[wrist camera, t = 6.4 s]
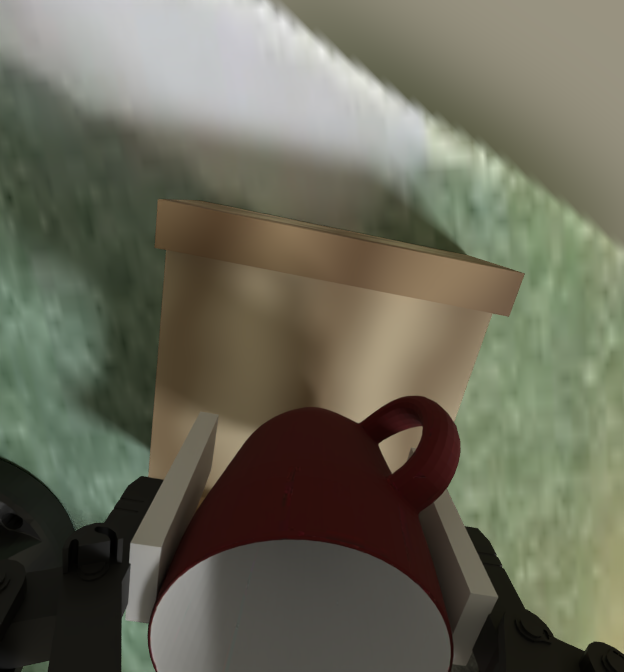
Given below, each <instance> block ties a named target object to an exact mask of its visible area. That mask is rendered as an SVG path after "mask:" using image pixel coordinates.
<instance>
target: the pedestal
mask: <svg viewBox="0 0 624 672" xmlns="http://www.w3.org/2000/svg"><path fill="white" fill-rule="evenodd" d="M155 248H159V249H164V250H166V258H165V271H164V284H163V296H162V309H161V322H160V335H159V347H158V360H157V373H156V386H155V398H154V411H153V424H152V437H151V449H150V462H149V475H148V477H150V478H157V479H163V480H164V479H165V477H166V475H167V473H168V471H169V469H170V468H171V466H172V464H173V462H174V460H175V458H176V456H177V454H178V453H179V451H180V449H181V447H182V445H183V443H184V441H185V439H186V438H187V436H188V434H189V432H190V430H191V428H192V426H193V424H194V422H195V421H196V419H197V417H198V415H199V413H200V411H201V412H207V413H212V414H218V415H219V417H218V425H217V432H216V439H215V447H214V454H213V461H212V468H211V472H210V474H209V477H208V480H207V482H206V485H205V488H204V490H203V493H202V496H201V499H200V501H199V504H198V507H197V509H198V508H199V506H200V505H201V503H202V502H203V500H204V499H205V497H206V496H207V494H208V493H209V492H210V490H211V489H212V487H213V486H214V485H215V483H216V482H217V480H218V479H219V478H220V476H221V475H222V473H223V472H224V471H225V469H226V468H227V466H228V465H229V464H230V462H231V461H232V459H233V458H234V457H235V455H236V454H237V452H238V451H239V450H240V448H241V447H242V445H243V444H244V443H245V441H246V440H247V439H248V438H249V437H250V435H251V434H252V433H253V432H254V431H255V430H257V429H258V428H259V427H260V426H261V425H262V424H264V423H265V422H267V421H268V420H270V419H272V418H273V417H275V416H277V415H279V414H282V413H284V412H287V411H290V410H294V409H298V408H303V407H319V408H324V409H327V410H330V411H333V412H336V413H338V414H340V415H342V416H345V417H347V418H349V419H351V420H353V421H355V422H357V423H360V422H362V421H363V420H364V419H366V418H367V417H368V416H370V415H371V414H372V413H374V412H375V411H376V410H378V409H379V408H381V407H382V406H384V405H386V404H387V403H389V402H391V401H393V400H395V399H398V398H400V397H405V396H424V397H426V398H428V399H430V400H433V401H435V402H437V403H438V404H439V405H440V406H441V407H442V408H443V409H444V410H445V411H446V412H447V413H448V414H449V415H450V417H451V418H452V420H453V422H454V421H455V418H456V415H457V412H458V409H459V407H460V404H461V401H462V398H463V395H464V392H465V390H466V387H467V384H468V381H469V378H470V375H471V373H472V370H473V367H474V364H475V361H476V359H477V356H478V353H479V350H480V347H481V344H482V342H483V339H484V336H485V333H486V330H487V327H488V325H489V322H490V319H491V316H492V313H493V314H498V315H503V316H508V317H509V315H510V313H511V310H512V307H513V304H514V302H515V299H516V296H517V294H518V291H519V288H520V285H521V283H522V280H523V277H524V275H525V273H521V272H518V271H515V270H512V269H509V268H506V267H503V266H500V265H497V264H493V263H490V262H487V261H484V260H481V259H478V258H475V257H472V256H469V255H464V254H459V253H454V252H449V251H444V250H440V249H435V248H430V247H425V246H420V245H415V244H410V243H405V242H400V241H396V240H391V239H386V238H381V237H376V236H371V235H366V234H361V233H356V232H352V231H347V230H342V229H337V228H332V227H327V226H322V225H317V224H312V223H307V222H303V221H298V220H293V219H288V218H283V217H278V216H273V215H268V214H263V213H259V212H254V211H249V210H244V209H239V208H234V207H229V206H224V205H219V204H215V203H210V202H205V201H200V200H171V199H158V206H157V220H156V235H155ZM422 429H423V427H422V426H419V427H414V428H410V429H407V430H404V431H401V432H399V433H397V434H395V435H392V436H390V437H389V438H387V439H385V440H383V441H382V442H380V443H379V448H380V450H381V452H382V455H383V457H384V459H385V461H386V463H387V465H388V467H389V469H390V471H391V472H392V473H394V472H395V471H396V470H398V469H399V468H400V467H401V466H403V465H404V464H405V463H406V462H407V459H408V455H409V452H410V449H411V447H412V448H417V447H418V444H419V442H420V440H421V436H422ZM197 509H196V511H197Z"/></svg>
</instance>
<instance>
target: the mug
mask: <svg viewBox="0 0 624 672" xmlns="http://www.w3.org/2000/svg"><path fill="white" fill-rule="evenodd" d="M419 426H422V427H423V429H422V436H421V440H420V442H419V444H418V447H417V448H416V450H415V452H414V453H413V455H412V456H411V457H410V458H409V460H408V461H407V462H406V463H405V464H404V465H403V466H401V467H400V468H399V469H398V470H396V471H395V472H394V473H392V472H391V471H390V469H389V467H388V465H387V463H386V461H385V459H384V457H383V455H382V452H381V450H380V448H379V443H380V442H382V441H383V440H385V439H387V438H389V437H390V436H392V435H395V434H397V433H399V432H401V431H404V430H407V429H410V428H414V427H419ZM459 457H460V438H459V435H458V431H457V427H456V425H455V423H454V422H453V420H452V418H451V417H450V415H449V414H448V413H447V412H446V411H445V410H444V409H443V408H442V407H441V406H440V405H439V404H438V403H437V402H435V401H433V400H430V399H428V398H426V397H424V396H405V397H400V398H398V399H395V400H393V401H391V402H389V403H387V404H386V405H384V406H382V407H381V408H379V409H378V410H376V411H375V412H374V413H372V414H371V415H370V416H368V417H367V418H366V419H364V420H363V421H362V422H360V423H357V422H355V421H353V420H351V419H349V418H347V417H345V416H342V415H340V414H338V413H336V412H333V411H330V410H327V409H324V408H319V407H303V408H298V409H294V410H290V411H287V412H284V413H282V414H279V415H277V416H275V417H273V418H272V419H270V420H268V421H267V422H265V423H264V424H262V425H261V426H260V427H259V428H258V429H257V430H255V431H254V432H253V433H252V434H251V435H250V437H249V438H248V439H247V440H246V441H245V443H244V444H243V445H242V447H241V448H240V450H239V451H238V452H237V454H236V455H235V457H234V458H233V459H232V461H231V462H230V464H229V465H228V466H227V468H226V469H225V471H224V472H223V473H222V475H221V476H220V478H219V479H218V480H217V482H216V483H215V485H214V486H213V487H212V489H211V490H210V492H209V493H208V494H207V496H206V497H205V499H204V500H203V502H202V503H201V505H200V506H199V508H198V509H197V511H196V512H195V514H194V516H193V517H192V519H191V521H190V523H189V525H188V527H187V529H186V531H185V533H184V535H183V536H182V538H181V541H180V543H179V545H178V548H177V550H176V552H175V555H174V557H173V559H172V561H171V564H170V566H169V569H168V571H167V574H166V576H165V579H164V581H163V584H162V586H161V589H160V591H159V594H158V596H157V599H156V601H155V604H154V607H153V609H152V613H151V616H150V621H149V625H148V648H149V653H150V658H151V661H152V664H153V667H154V669H155V671H156V672H451V669H452V664H453V657H454V644H453V637H452V630H451V626H450V622H449V619H448V615H447V611H446V607H445V604H444V600H443V596H442V592H441V589H440V585H439V581H438V578H437V574H436V571H435V567H434V564H433V561H432V557H431V554H430V551H429V548H428V545H427V542H426V539H425V536H424V533H423V530H422V527H421V524H420V521H419V513H420V512H421V511H422V510H424V509H425V508H427V507H428V506H429V505H431V504H432V503H433V502H435V501H436V500H437V499H438V498H439V497H440V496H441V495H442V494H443V492H444V491H445V490H446V488H447V487H448V486H449V484H450V482H451V480H452V478H453V476H454V474H455V471H456V468H457V466H458V462H459Z"/></svg>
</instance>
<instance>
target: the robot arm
mask: <svg viewBox="0 0 624 672" xmlns="http://www.w3.org/2000/svg"><path fill="white" fill-rule="evenodd" d="M218 417H219V415H218V414H212V413H207V412H201V411H200V413H199V415H198V417H197V419H196V421H195V422H194V424H193V426H192V428H191V430H190V432H189V434H188V436H187V438H186V439H185V441H184V443H183V445H182V447H181V449H180V451H179V453H178V454H177V456H176V458H175V460H174V462H173V464H172V466H171V468H170V469H169V471H168V473H167V475H166V477H165V479H164V480H163V479H157V478H150V477H144V476H141V477H139V478H138V479H137V480H135V481H134V482H133V483H131V484H130V485H128V487H127V488H126V490H125V492H124V493H123V495H122V496H121V498H120V500H119V501H118V502H117V504H116V505H115V507H114V510H112V512H111V513H110V515H109V516H108V518H107V519H106V521H105V522H104V523H94V524H90V525H87V526H84V527H82V528H80V529H78V530H77V531H74V527H73V525H72V522H71V520H70V518H69V516H68V514H67V513H66V511H65V510H64V508H63V507H62V505H61V504H60V502H59V501H58V500H57V499H56V498H55V497H54V495H53V494H52V493H51V492H50V491H49V490H48V489H47V488H45V487H44V486H43V485H42V484H41V483H40V482H38V481H37V480H36V479H34V478H33V477H32V476H30V475H29V474H27V473H25V472H24V471H22V470H20V469H19V468H17V467H15V466H13V465H11V464H9V463H7V462H4V461H2V460H0V672H21V670H22V668H23V666H26V665H31V664H36V663H40V662H45V661H49V667H48V672H121V622H122V616H123V614H124V611H125V609H126V618H125V620H128V621H136V622H143V623H149V621H150V616H151V613H152V609H153V607H154V604H155V601H156V599H157V596H158V594H159V591H160V589H161V586H162V584H163V581H164V579H165V576H166V574H167V571H168V569H169V566H170V564H171V561H172V559H173V557H174V555H175V552H176V550H177V548H178V545H179V543H180V541H181V538H182V536H183V535H184V533H185V531H186V529H187V527H188V525H189V523H190V521H191V519H192V517H193V516H194V514H195V512H196V509H197V507H198V504H199V501H200V499H201V496H202V493H203V490H204V488H205V485H206V482H207V480H208V477H209V474H210V472H211V468H212V461H213V454H214V447H215V439H216V432H217V425H218ZM415 450H416V448H412V447H411V449H410V452H409V455H408V459H407V461H408V460H409V458H410V457H411V456H412V455H413V453H414V452H415ZM419 521H420V524H421V527H422V530H423V533H424V536H425V539H426V542H427V545H428V548H429V551H430V554H431V557H432V561H433V564H434V567H435V571H436V574H437V578H438V581H439V585H440V589H441V592H442V596H443V600H444V604H445V607H446V611H447V615H448V619H449V622H450V626H451V630H452V637H453V644H454V657H453V664H455V665H462V666H466V665H467V663H468V660H469V658H470V656H471V654H472V652H473V654H474V657H475V659H476V662H477V665H478V668H477V671H476V672H624V654H622V653H621V652H620V651H618V650H617V649H615V648H614V647H612V646H610V645H607V644H605V643H603V642H593V643H591V644H589V645H588V647H587V648H586V650H585V651H583V650H581V649H578V648H576V647H574V646H572V645H569V644H567V643H565V642H563V641H560V640H558V639H557V638H555V637H554V636H553V634H552V632H551V631H550V629H549V628H548V627H547V625H546V624H545V623H544V622H543V621H542V620H541V619H540V618H539V617H538V616H536V615H535V614H533V613H531V612H530V611H528V610H526V609H525V607H524V606H523V604H522V602H521V600H520V598H519V596H518V594H517V592H516V590H515V589H514V587H513V585H512V583H511V581H510V579H509V577H508V575H507V573H506V572H505V570H504V568H502V564H501V562H500V560H499V558H498V557H496V553H495V551H494V549H493V547H492V545H491V543H490V541H489V540H488V539H487V538H486V537H485V536H484V535H483V534H482V533H481V531H480V530H479V529H478V528H472V527H466V526H464V524H463V522H462V520H461V518H460V516H459V514H458V511H457V509H456V507H455V505H454V503H453V501H452V499H451V497H450V495H449V493H448V490H447V488H446V490H445V491H444V492H443V494H442V495H441V496H440V497H439V498H438V499H437V500H436V501H435V502H433V503H432V504H431V505H429V506H428V507H427V508H425V509H424V510H422V511H421V512H420V513H419Z"/></svg>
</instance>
